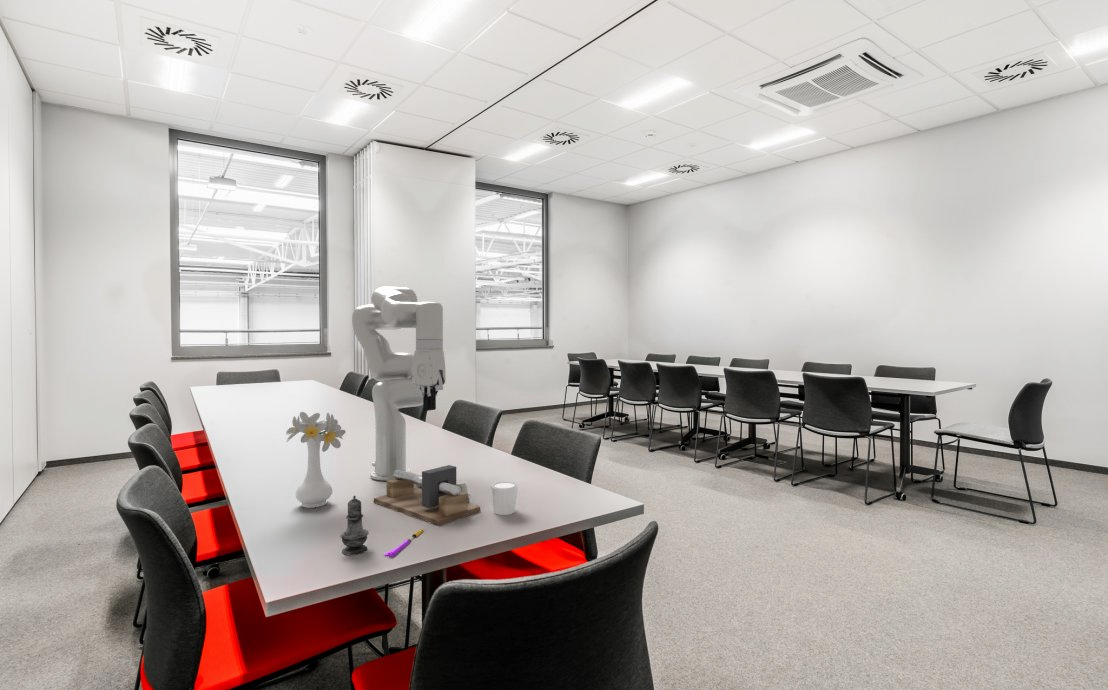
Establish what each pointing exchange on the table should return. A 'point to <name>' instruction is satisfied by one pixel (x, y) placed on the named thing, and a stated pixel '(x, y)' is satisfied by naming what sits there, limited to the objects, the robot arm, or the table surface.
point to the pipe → (418, 480)
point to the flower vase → (315, 456)
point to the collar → (436, 484)
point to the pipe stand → (410, 503)
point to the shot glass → (504, 497)
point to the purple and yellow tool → (402, 545)
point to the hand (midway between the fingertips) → (429, 409)
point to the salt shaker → (354, 530)
